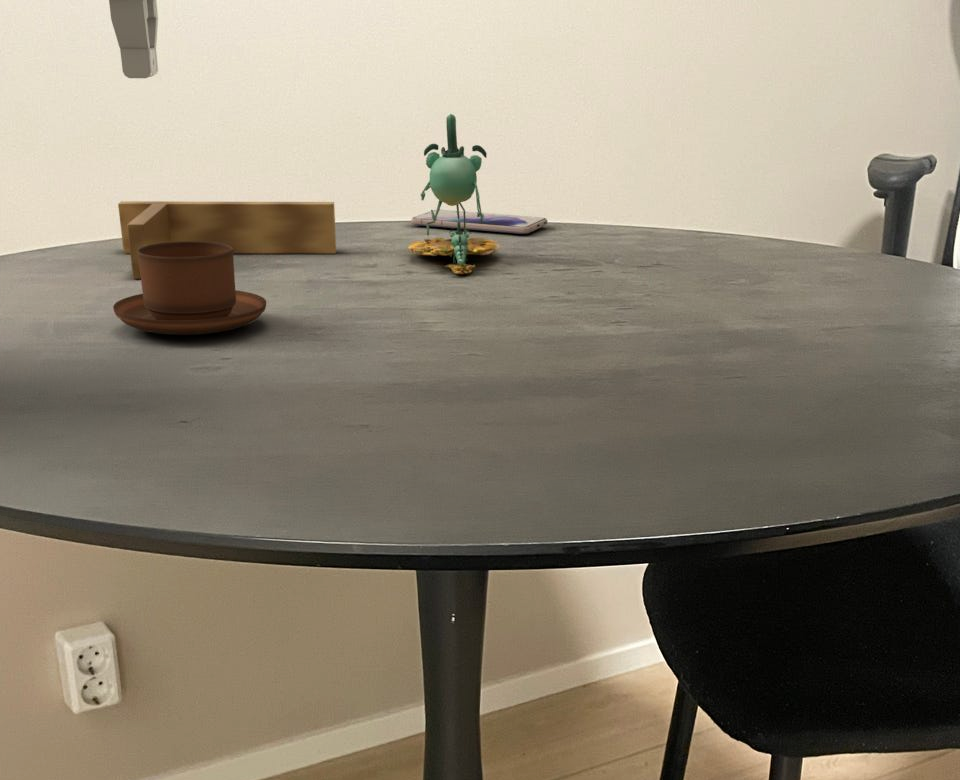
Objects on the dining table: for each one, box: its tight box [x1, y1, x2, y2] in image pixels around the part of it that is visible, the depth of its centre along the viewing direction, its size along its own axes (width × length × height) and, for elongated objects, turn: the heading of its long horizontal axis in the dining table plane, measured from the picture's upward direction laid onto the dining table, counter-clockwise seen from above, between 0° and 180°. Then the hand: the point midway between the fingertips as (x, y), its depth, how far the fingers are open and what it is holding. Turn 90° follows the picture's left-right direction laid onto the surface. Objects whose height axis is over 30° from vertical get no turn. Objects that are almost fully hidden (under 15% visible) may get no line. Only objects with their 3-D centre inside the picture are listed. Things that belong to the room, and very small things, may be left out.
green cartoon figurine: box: [407, 113, 501, 275], centre depth 127 cm, size 10×18×15 cm, turn 171°
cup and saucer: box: [112, 241, 267, 336], centre depth 100 cm, size 12×12×6 cm
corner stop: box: [117, 200, 337, 280], centre depth 124 cm, size 22×15×5 cm
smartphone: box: [411, 209, 548, 235], centre depth 148 cm, size 7×1×15 cm
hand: (141, 77), depth 83 cm, fingers closed
